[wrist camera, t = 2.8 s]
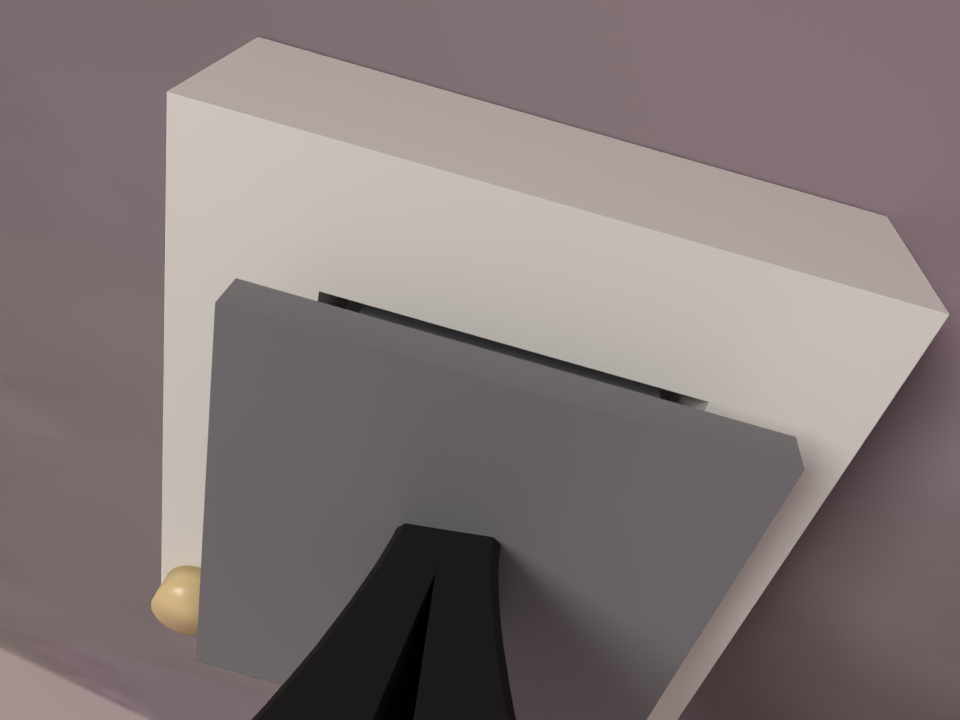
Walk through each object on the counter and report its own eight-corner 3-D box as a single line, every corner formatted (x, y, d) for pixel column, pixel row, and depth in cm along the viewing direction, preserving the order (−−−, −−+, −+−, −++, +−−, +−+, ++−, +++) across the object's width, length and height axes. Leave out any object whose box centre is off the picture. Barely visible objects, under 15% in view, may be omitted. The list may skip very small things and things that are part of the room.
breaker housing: (886, 216, 13) (966, 339, 10) (658, 617, 18) (662, 772, 15) (258, 37, 13) (143, 105, 10) (224, 494, 18) (146, 626, 15)
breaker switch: (763, 312, 12) (804, 469, 9) (614, 602, 16) (610, 777, 13) (314, 184, 12) (215, 302, 9) (275, 506, 16) (195, 661, 13)
